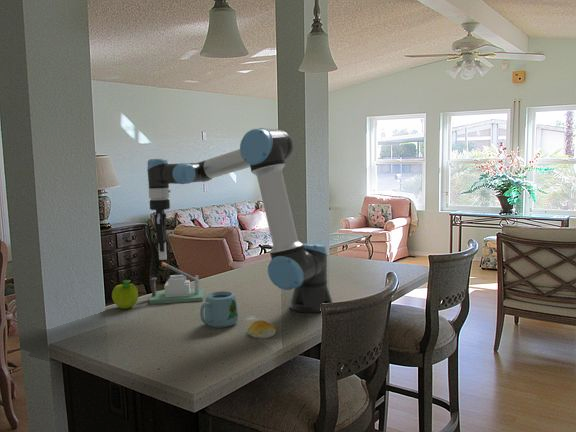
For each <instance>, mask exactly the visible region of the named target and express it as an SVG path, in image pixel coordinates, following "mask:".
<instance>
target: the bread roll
mask: <svg viewBox="0 0 576 432" xmlns="http://www.w3.org/2000/svg"><path fill="white" fill-rule="evenodd" d="M276 331H277V328H276V327H275V325H274V324H272V323H269V322H268V321H266V320H255V321H253V322H251V324H250V325H249V326H248V328H247V333H248V336H251V338H253V339H267V338H271V337H274V336H275V334H276Z"/></svg>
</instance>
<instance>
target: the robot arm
mask: <svg viewBox="0 0 576 432" xmlns="http://www.w3.org/2000/svg"><path fill="white" fill-rule="evenodd" d="M239 145H240V146H239V149H236V150H233V151H230V152H227V153H224V154H220V155H218V156H214V157H211V158H207V159H205V160H203V161H199V162H187V163H186V162H184V163H183V162H181V163H180V162H179V163H168V159H167V158H150V159H148V160H147V168H146V169H147V170H146V171H147V181H148V198H149V199H150V200H149V209H150V210H151V211H155V214H154V224H155V230H156V231H155V232H156V242H155V243H156V244H157V245H158V246H157V247H158V258H159V259H158V260H159V261H160V260H161V261H162V260H163V261H164V260H167V259H168V257H167V243H168V241H169V240H167V213H165V210H169V209H171V203H170V202H171V201H170V199H169V198H170V193H171V190H170V189H169V187H170V184H173V185H174V184H176V185H178V184H180V185H187V184H191V183H192V184H193V183H201V182H202V183H204V182H208V181H211V180H213V179H214V178H218V177H221V176H224V175H228V174H231V173H234V172H237V171H242V170H244V169H249V168H250V172H251V174H253V175H255V176H256V178H257V182H258V187H259V190H260V195H261V199H262V204H263V209H264V213H265V216H266V217H265V218H266V221H267V226H268V229H269V234H270V238H271V243H272V247H271V249H270V251H269V254H270V258H271V260H270V262H269V265H268V266H267V275H268V277H269V280H270V281H271V282H272V284H273V285H274V286H276V287H277V288H278V289H281V290H284V291H291V290H293V291H292V295H291V298H290V301H289V302H290V309H291V310H293V311H296V312H299V313H306V314H307V313H313V314H314V313H321V312H320V304H322V303H332V304H333V299H332V295H331V293H330V290H329V287H328V262H327V261H328V260H327V259H328V258H327V257H328V254H327V247H326V245H324V244H321V243H303V242H301V241H300V240H299V239H298V234H297V229H296V226H295V221H294V217H293V213H292V207H291V205H290V201H289V199H290V198H289V195H288V191H287V187H286V182H285V178H284V173H283V169H284V167H285V166H286V161H287V160H288V159H289V158H290V156H291V155H292V153H293V150H294V143H293V139H292V137H291V136H290V135H289V133H287V132H286V131H284V130H282V129H276V128H275V129H273V128H264V127H259V128H253V129H250V130H248V131H246V133H245V134H244V135H243V137H242V139H241V141H240V144H239Z"/></svg>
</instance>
